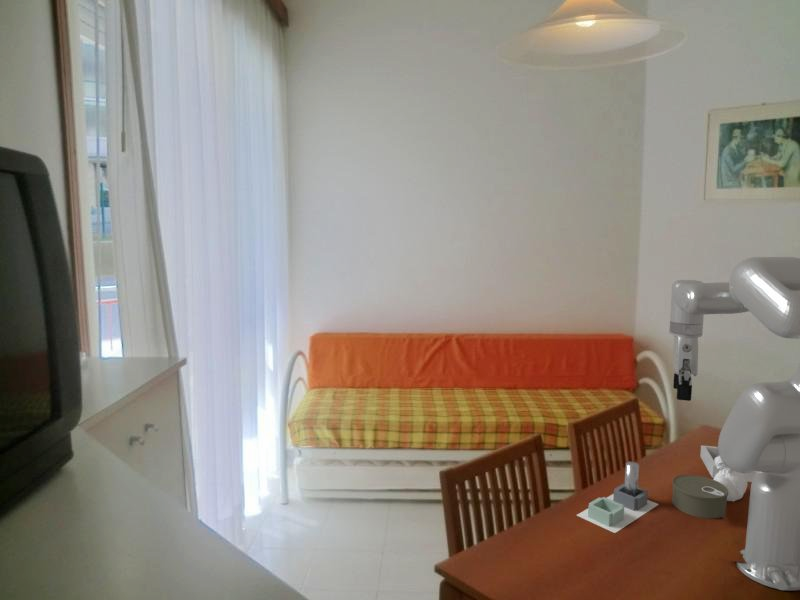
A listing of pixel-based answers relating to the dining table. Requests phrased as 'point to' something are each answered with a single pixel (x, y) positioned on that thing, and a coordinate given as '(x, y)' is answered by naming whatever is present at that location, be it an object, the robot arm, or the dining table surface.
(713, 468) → the controller tray
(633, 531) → the dining table surface
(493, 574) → the dining table surface
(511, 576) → the dining table surface
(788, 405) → the robot arm
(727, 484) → the bust
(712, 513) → the can
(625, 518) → the tool board
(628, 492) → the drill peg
